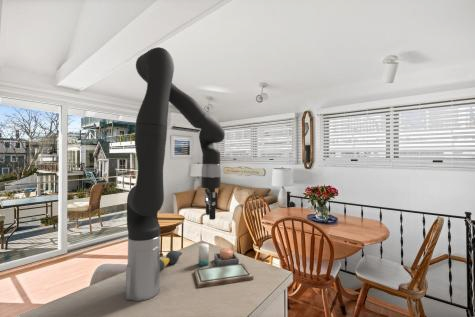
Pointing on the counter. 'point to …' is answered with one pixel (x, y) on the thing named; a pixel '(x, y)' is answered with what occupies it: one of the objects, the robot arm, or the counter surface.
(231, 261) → the button housing
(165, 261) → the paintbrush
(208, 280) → the framed mirror
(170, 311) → the counter surface
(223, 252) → the button
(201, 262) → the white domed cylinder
